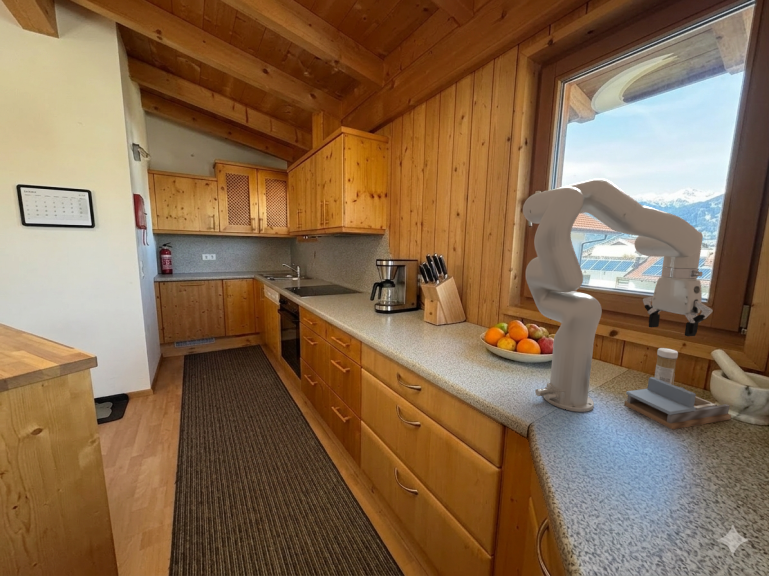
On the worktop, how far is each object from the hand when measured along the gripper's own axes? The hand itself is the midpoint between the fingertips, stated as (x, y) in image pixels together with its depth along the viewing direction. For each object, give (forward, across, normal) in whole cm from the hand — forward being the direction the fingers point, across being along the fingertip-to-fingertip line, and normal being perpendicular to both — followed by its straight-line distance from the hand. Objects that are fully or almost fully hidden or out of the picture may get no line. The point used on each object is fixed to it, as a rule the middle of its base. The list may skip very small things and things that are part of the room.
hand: (670, 331), depth 92 cm
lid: (+16, -9, +15) cm, 24 cm away
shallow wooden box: (+19, -10, +9) cm, 23 cm away
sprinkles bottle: (+19, 0, 0) cm, 19 cm away
